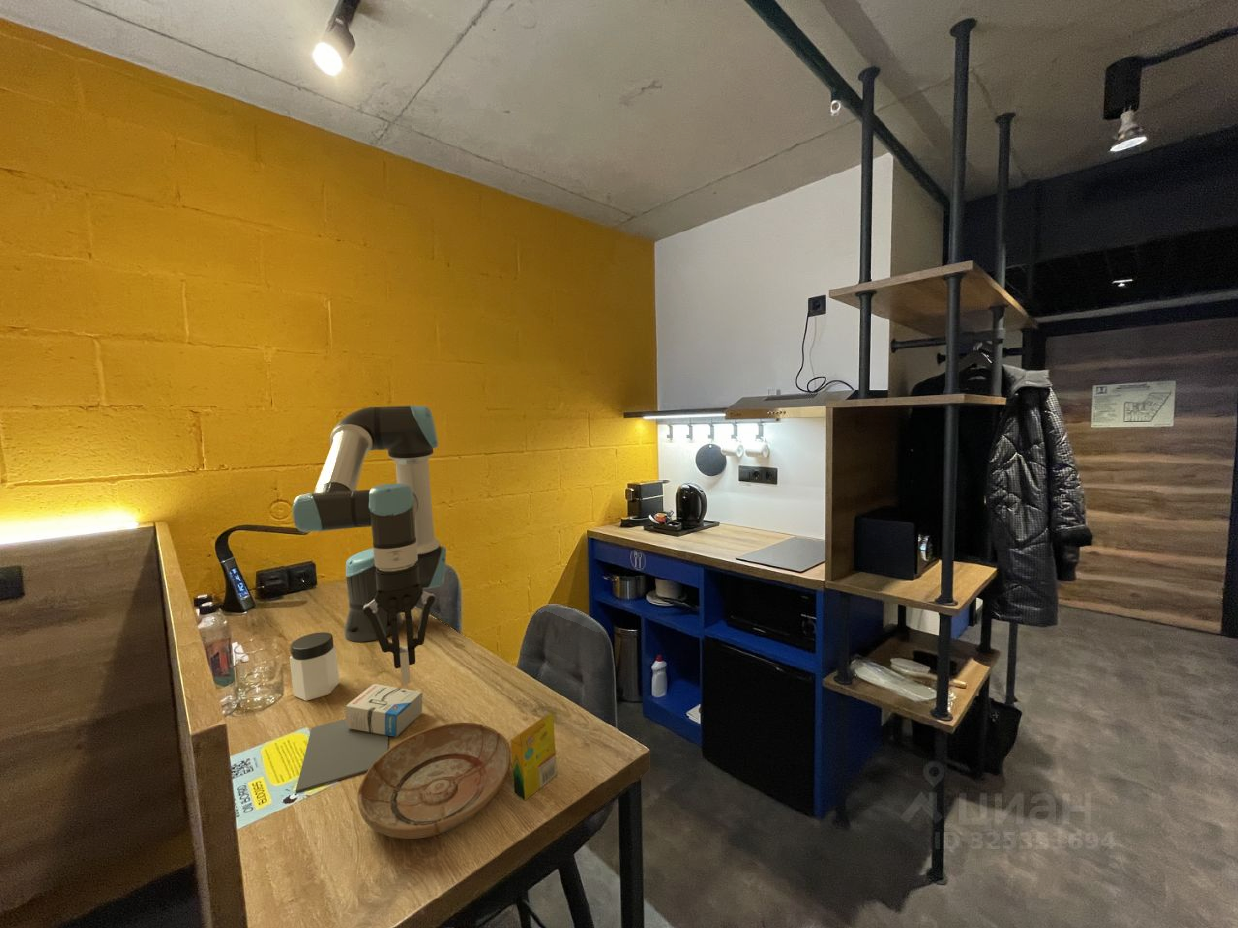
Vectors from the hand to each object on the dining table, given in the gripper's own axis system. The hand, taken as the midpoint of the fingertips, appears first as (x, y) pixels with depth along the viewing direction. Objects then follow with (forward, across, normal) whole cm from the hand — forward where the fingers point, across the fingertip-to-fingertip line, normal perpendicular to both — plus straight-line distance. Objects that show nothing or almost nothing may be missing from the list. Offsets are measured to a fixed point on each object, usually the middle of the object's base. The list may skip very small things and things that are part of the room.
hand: (406, 680), depth 97 cm
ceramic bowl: (+11, +4, -20) cm, 23 cm away
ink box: (+8, 0, +1) cm, 8 cm away
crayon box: (+11, +19, -25) cm, 33 cm away
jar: (+11, -19, +25) cm, 33 cm away
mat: (+10, -11, 0) cm, 15 cm away
